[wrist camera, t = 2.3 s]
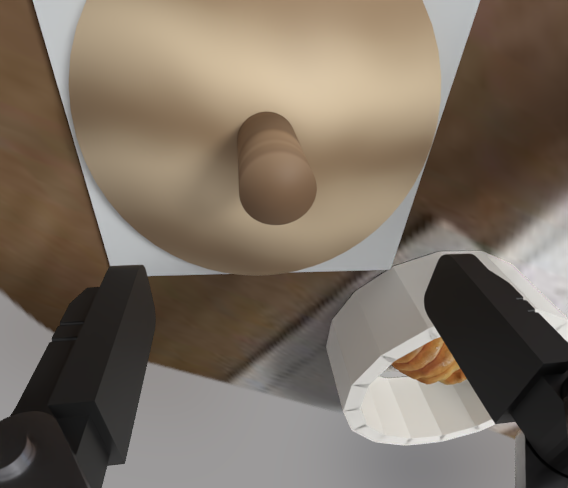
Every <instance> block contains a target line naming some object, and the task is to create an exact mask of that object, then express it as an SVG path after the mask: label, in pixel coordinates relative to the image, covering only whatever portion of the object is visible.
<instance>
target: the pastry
mask: <svg viewBox="0 0 568 488" xmlns="http://www.w3.org/2000/svg"><path fill="white" fill-rule="evenodd" d="M391 365H392V366H393V367H394V368H396V369H398V370H399V371H400V372H401V373H403V374H405V375H407V376H409V377H410V378H412V379H416V380H417V381H419V382H421V383H425V384H433V383H436V382H437V381H439V382H441V383H443V384H445V385H453V384H456V383H461V382H463V381H464V380H466V379H467V378H466V377H465V375H464V373H463V372H462V370H461V369H460V367H459V365H458V364H457V362H456V361H455V359H454V357H453V356H452V354H451V353H450V351H449V349H448V348H447V346H446V344H445V343H444V341H443V340H442V338H441V337H439V338H436V339H433V340H432V341H430V342H428V343H426V344H424V345H423V346H421V347H419V348H417V349H415V350H414V351H412V352H410V353H408V354H406V355H405V356H403V357H401V358H399V359H397V360H396V361H394V362H393V363H392V364H391Z"/></svg>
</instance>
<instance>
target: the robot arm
mask: <svg viewBox="0 0 568 488" xmlns="http://www.w3.org/2000/svg"><path fill="white" fill-rule="evenodd" d="M424 307H425V311H426V313H427V315H428V317H429V319H430V320H431V322H432V324H433V325H434V327H435V328H436V330H437V332H438V333H439V335H440V336H441V338H442V340H443V341H444V343H445V344H446V346H447V348H448V349H449V351H450V353H451V354H452V356H453V357H454V359H455V361H456V362H457V364H458V365H459V367H460V369H461V370H462V372H463V373H464V375H465V377H466V378H467V380H468V381H469V383H470V385H471V386H472V388H473V389H474V391H475V393H476V394H477V396H478V397H479V399H480V401H481V402H482V404H483V405H484V407H485V409H486V410H487V412H488V413H489V415H490V417H491V418H492V420H493V421H494V423H495V424H500V423H508V422H516V423H517V425H518V426H519V428H520V430H519V432H518V433H517V435H516V440H515V488H568V342H567V341H566V340H565V339H564V338H563V337H562V336H561V335H560V334H559V333H558V332H557V331H556V330H555V329H554V328H553V327H552V326H551V325H550V324H549V323H548V322H547V321H546V320H545V319H544V318H543V317H542V316H541V315H540V314H539V313H538V312H535V308H534V307H533V306H532V305H531V304H530V303H529V302H528V301H527V300H523V296H522V295H521V294H520V293H519V292H518V291H517V290H516V289H515V288H514V287H513V286H512V285H511V284H510V283H509V282H507V281H506V280H504V279H503V278H501V277H500V276H498V275H496V274H495V273H493V272H492V271H490V270H489V269H488V268H487V267H486V266H485V265H484V264H483V263H482V262H481V261H480V260H479V259H478V258H477V257H476V256H475V255H473V254H469V253H468V254H445V255H442V256H441V257H440V258H439V260H438V262H437V264H436V267H435V269H434V272H433V274H432V277H431V279H430V282H429V284H428V287H427V289H426V292H425V295H424ZM154 331H155V307H154V303H153V298H152V294H151V290H150V285H149V281H148V277H147V272H146V269H145V267H144V265H119V266H110V267H109V268H108V270H107V272H106V274H105V277H104V279H103V281H102V283H101V286H100V287H92V288H86V289H85V290H84V291H83V292H82V293H81V294H80V295H79V296H78V297H76V298H75V299H74V300H73V301H72V302H71V303H70V304H69V306H68V308H67V310H66V312H65V314H64V316H63V318H62V319H61V321H60V326H58V327H57V329H56V331H55V333H54V335H53V337H52V342H50V343H49V345H48V346H47V348H46V350H45V352H44V354H43V356H42V358H41V360H40V362H39V364H38V366H37V368H36V370H35V372H34V373H33V375H32V377H31V379H30V381H29V383H28V385H27V387H26V389H25V391H24V393H23V394H22V397H21V399H20V400H19V402H18V404H17V406H16V408H15V409H14V411H13V413H12V414H11V415H10V417H7V418H5V419H3V420H1V421H0V488H102V484H103V480H104V476H105V472H106V469H107V466H109V465H118V464H125V461H126V456H127V452H128V447H129V442H130V438H131V434H132V429H133V425H134V420H135V416H136V411H137V407H138V403H139V398H140V393H141V389H142V384H143V380H144V375H145V371H146V367H147V362H148V358H149V353H150V349H151V344H152V340H153V335H154Z"/></svg>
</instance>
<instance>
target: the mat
mask: <svg viewBox="0 0 568 488" xmlns="http://www.w3.org/2000/svg"><path fill="white" fill-rule="evenodd" d="M479 2H480V0H423V3H424V5H425V8H426V10H427V13H428V15H429V18H430V20H431V23H432V26H433V30H434V34H435V38H436V42H437V47H438V51H439V60H440V70H441V102H440V109H439V116H438V123H437V127H436V131H437V128H438V125H439V122H440V119H441V116H442V113H443V110H444V107H445V104H446V101H447V98H448V95H449V92H450V89H451V86H452V83H453V80H454V77H455V74H456V71H457V68H458V65H459V62H460V59H461V56H462V53H463V50H464V47H465V44H466V41H467V38H468V35H469V32H470V29H471V26H472V23H473V20H474V17H475V14H476V11H477V8H478V5H479ZM33 3H34V7H35V10H36V13H37V17H38V20H39V24H40V27H41V31H42V34H43V37H44V41H45V44H46V48H47V51H48V55H49V58H50V61H51V65H52V68H53V72H54V75H55V79H56V82H57V85H58V89H59V92H60V96H61V99H62V102H63V106H64V109H65V113H66V116H67V120H68V123H69V126H70V130H71V133H72V137H73V140H74V144H75V147H76V150H77V154H78V157H79V161H80V164H81V168H82V171H83V174H84V178H85V181H86V185H87V188H88V191H89V195H90V198H91V202H92V205H93V209H94V212H95V215H96V219H97V222H98V226H99V229H100V233H101V236H102V239H103V243H104V246H105V250H106V253H107V257H108V260H109V263H110V266H119V265H144V267H145V269H146V272H147V276H166V275H205V274H230V273H223V272H219V271H214V270H210V269H206V268H203V267H200V266H197V265H194V264H191V263H189V262H186V261H184V260H182V259H180V258H178V257H175V256H173V255H171V254H170V253H168V252H166V251H164V250H163V249H161V248H159V247H158V246H156V245H154V244H153V243H152V242H150V241H149V240H148V239H146V238H145V237H144V236H142V235H141V234H140V233H138V232H137V231H136V230H135V229H134V228H133V227H132V226H131V225H130V224H129V223H128V222H127V221H125V220H124V219H123V218H122V217H121V215H120V214H119V213H118V212H117V211H116V209H115V208H114V207H113V206H112V205H111V204H110V202H109V201H108V200H107V198H106V197H105V195H104V194H103V192H102V191H101V189H100V188H99V186H98V185H97V183H96V182H95V180H94V178H93V176H92V174H91V172H90V170H89V168H88V166H87V164H86V162H85V160H84V157H83V154H82V152H81V149H80V146H79V143H78V140H77V138H76V133H75V129H74V124H73V120H72V115H71V109H70V96H69V68H70V54H71V50H72V45H73V40H74V36H75V31H76V26H77V24H78V21H79V18H80V16H81V13H82V11H83V8H84V5H85V3H86V0H33ZM436 131H435V134H436ZM434 137H435V135H434ZM433 140H434V139H433ZM432 143H433V142H432ZM429 152H430V151H429ZM428 155H429V154H428ZM427 158H428V156H427ZM426 161H427V159H426ZM426 161H425V164H426ZM425 164H424V166H423V168H422V170H421V172H420V174H419V176H418V178H417V180H416V182H415V184H414V185H413V187H412V188H411V190H410V191H409V193H408V194H407V196H406V197H405V199H404V200H403V202H402V203H401V204H400V205H399V206H398V208H397V209H396V210H395V211H394V212H393V214H392V215H391V216H390V217H389V218H388V219H387V220H386V221H385V222H384V223H383V224H382V225H381V226H380V227H379V228H378V229H377V230H376V231H374V232H373V233H372V234H371V235H369V236H368V237H367V238H366V239H364V240H363V241H362V242H360V243H359V244H357V245H356V246H354V247H352V248H351V249H349V250H348V251H346V252H344V253H342V254H340V255H338V256H336V257H334V258H333V259H331V260H328V261H326V262H323V263H320V264H318V265H315V266H313V267H309V268H305V269H302V270H298V271H294V272H322V271H361V270H391V267H392V264H393V261H394V258H395V255H396V252H397V249H398V246H399V243H400V240H401V237H402V233H403V230H404V227H405V224H406V221H407V218H408V215H409V212H410V209H411V206H412V203H413V200H414V197H415V194H416V191H417V188H418V185H419V182H420V179H421V176H422V173H423V170H424V167H425Z"/></svg>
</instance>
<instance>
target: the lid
mask: <svg viewBox="0 0 568 488" xmlns="http://www.w3.org/2000/svg"><path fill="white" fill-rule="evenodd" d="M69 96H70V109H71V115H72V120H73V124H74V129H75V133H76V138H77V140H78V143H79V146H80V149H81V152H82V154H83V157H84V160H85V162H86V164H87V166H88V168H89V170H90V172H91V174H92V176H93V178H94V180H95V182H96V183H97V185H98V186H99V188H100V189H101V191H102V192H103V194H104V195H105V197H106V198H107V200H108V201H109V202H110V204H111V205H112V206H113V207H114V208H115V209H116V211H117V212H118V213H119V214H120V215H121V217H122V218H123V219H124V220H125V221H127V222H128V223H129V224H130V225H131V226H132V227H133V228H134V229H135V230H136V231H137V232H138V233H140V234H141V235H142V236H144V237H145V238H146V239H148V240H149V241H150V242H152V243H153V244H154V245H156V246H158V247H159V248H161V249H163V250H164V251H166V252H168V253H170V254H171V255H173V256H175V257H178V258H180V259H182V260H184V261H186V262H189V263H191V264H194V265H197V266H200V267H203V268H206V269H210V270H214V271H219V272H223V273H230V274H238V275H260V276H261V275H274V274H283V273H288V272H294V271H298V270H302V269H305V268H309V267H313V266H315V265H318V264H320V263H323V262H326V261H328V260H331V259H333V258H334V257H336V256H338V255H340V254H342V253H344V252H346V251H348V250H349V249H351V248H352V247H354V246H356V245H357V244H359V243H360V242H362V241H363V240H364V239H366V238H367V237H368V236H369V235H371V234H372V233H373V232H374V231H376V230H377V229H378V228H379V227H380V226H381V225H382V224H383V223H384V222H385V221H386V220H387V219H388V218H389V217H390V216H391V215H392V214H393V212H394V211H395V210H396V209H397V208H398V206H399V205H400V204H401V203H402V202H403V200H404V199H405V197H406V196H407V194H408V193H409V191H410V190H411V188H412V187H413V185H414V184H415V182H416V180H417V178H418V176H419V174H420V172H421V170H422V168H423V166H424V164H425V161H426V159H427V156H428V154H429V151H430V149H431V146H432V142H433V139H434V135H435V131H436V127H437V123H438V116H439V109H440V102H441V70H440V60H439V51H438V47H437V42H436V38H435V34H434V30H433V26H432V23H431V20H430V18H429V15H428V13H427V10H426V8H425V5H424V3H423V0H86V3H85V5H84V8H83V11H82V13H81V16H80V18H79V21H78V24H77V26H76V31H75V36H74V40H73V45H72V50H71V54H70V68H69Z"/></svg>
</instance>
